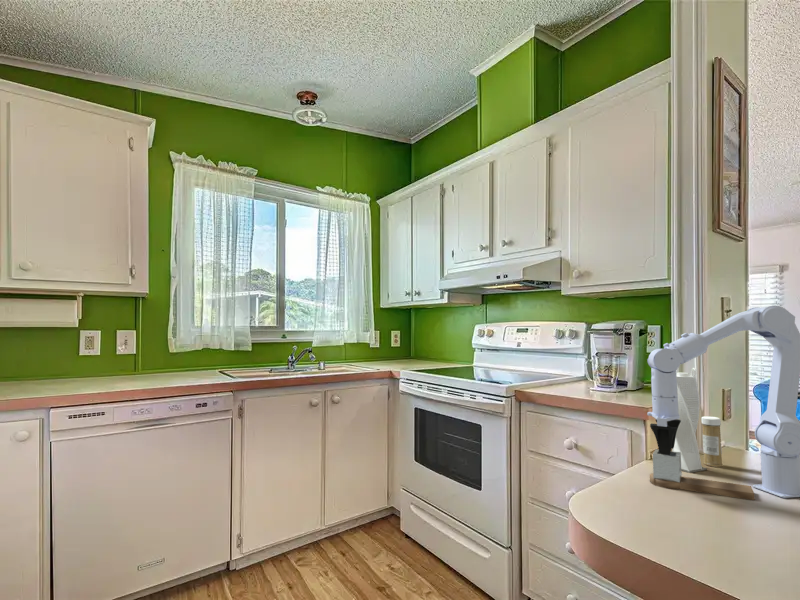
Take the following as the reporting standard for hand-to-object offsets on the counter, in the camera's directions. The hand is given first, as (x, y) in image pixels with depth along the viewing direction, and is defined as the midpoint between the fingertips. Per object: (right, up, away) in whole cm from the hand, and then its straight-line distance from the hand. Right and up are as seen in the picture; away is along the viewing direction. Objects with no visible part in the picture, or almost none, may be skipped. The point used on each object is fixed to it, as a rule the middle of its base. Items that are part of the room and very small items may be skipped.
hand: (666, 451), depth 116 cm
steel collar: (0, -7, 0) cm, 7 cm away
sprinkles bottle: (+22, -9, +16) cm, 29 cm away
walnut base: (+6, -8, -4) cm, 11 cm away
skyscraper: (+12, -9, +12) cm, 20 cm away
